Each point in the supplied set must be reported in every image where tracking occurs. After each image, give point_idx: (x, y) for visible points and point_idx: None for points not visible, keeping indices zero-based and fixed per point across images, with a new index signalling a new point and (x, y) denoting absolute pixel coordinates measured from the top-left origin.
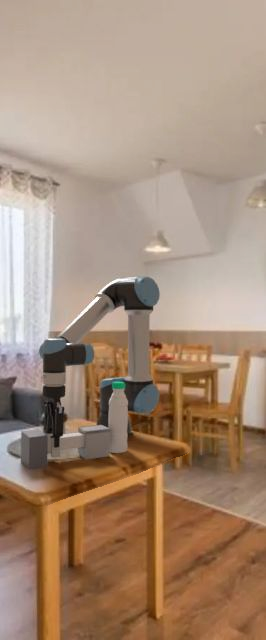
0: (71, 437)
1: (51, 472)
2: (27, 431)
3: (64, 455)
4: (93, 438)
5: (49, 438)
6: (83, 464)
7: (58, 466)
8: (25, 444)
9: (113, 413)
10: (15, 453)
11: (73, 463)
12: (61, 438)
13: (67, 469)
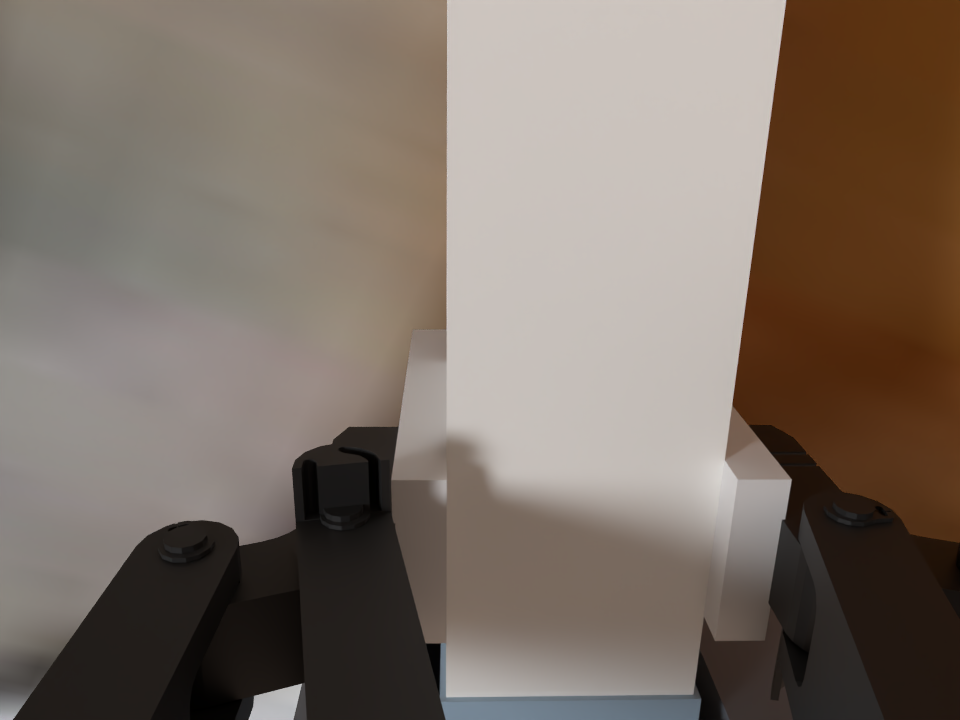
0: (755, 144)
1: (927, 509)
2: None
3: (343, 102)
4: None
5: (650, 636)
6: (913, 14)
7: (780, 367)
8: None
9: None
10: (2, 654)
11: (783, 136)
12: (727, 402)
13: (955, 310)
